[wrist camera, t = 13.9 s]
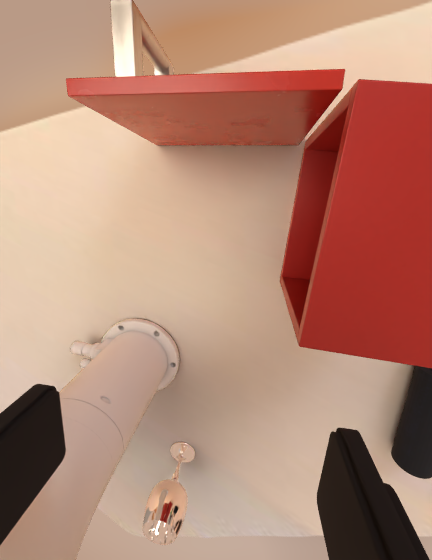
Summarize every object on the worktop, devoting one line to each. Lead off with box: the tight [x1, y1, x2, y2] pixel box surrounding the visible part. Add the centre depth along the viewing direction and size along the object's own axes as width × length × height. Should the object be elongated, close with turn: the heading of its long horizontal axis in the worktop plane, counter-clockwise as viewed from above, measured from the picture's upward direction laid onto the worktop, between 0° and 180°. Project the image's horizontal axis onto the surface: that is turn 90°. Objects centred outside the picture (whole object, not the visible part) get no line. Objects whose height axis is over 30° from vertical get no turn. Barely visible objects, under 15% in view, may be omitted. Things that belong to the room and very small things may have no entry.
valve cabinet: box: [280, 79, 432, 368], centre depth 25 cm, size 12×17×17 cm
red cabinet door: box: [66, 0, 345, 145], centre depth 23 cm, size 7×17×17 cm, turn 88°
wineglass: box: [142, 442, 195, 545], centre depth 41 cm, size 6×6×12 cm
